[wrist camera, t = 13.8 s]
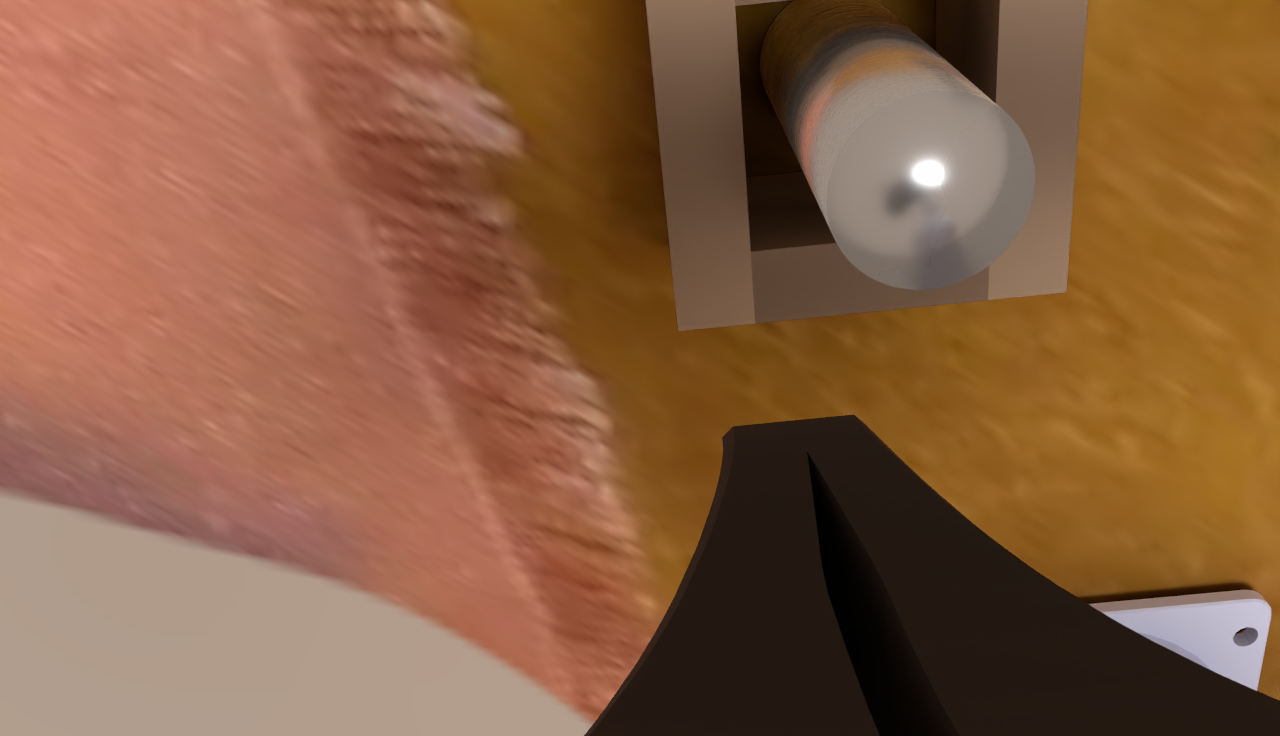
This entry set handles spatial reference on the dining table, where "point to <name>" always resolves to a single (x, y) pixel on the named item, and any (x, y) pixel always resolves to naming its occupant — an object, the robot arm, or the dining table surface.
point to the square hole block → (784, 203)
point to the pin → (895, 144)
